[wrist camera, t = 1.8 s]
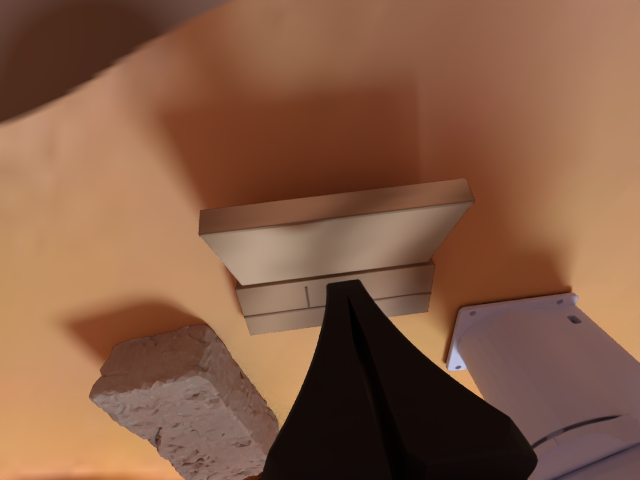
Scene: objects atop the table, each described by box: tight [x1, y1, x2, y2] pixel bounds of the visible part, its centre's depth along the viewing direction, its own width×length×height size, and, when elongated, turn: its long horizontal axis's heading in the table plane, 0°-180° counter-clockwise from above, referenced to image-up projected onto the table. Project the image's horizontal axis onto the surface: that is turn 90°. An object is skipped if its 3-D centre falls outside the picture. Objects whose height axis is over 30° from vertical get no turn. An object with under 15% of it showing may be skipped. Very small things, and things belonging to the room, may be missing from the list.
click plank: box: [198, 178, 475, 285], centre depth 16 cm, size 12×7×1 cm, turn 95°
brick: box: [89, 324, 279, 480], centre depth 25 cm, size 17×8×5 cm, turn 15°
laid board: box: [236, 258, 435, 335], centre depth 21 cm, size 13×4×1 cm, turn 95°
